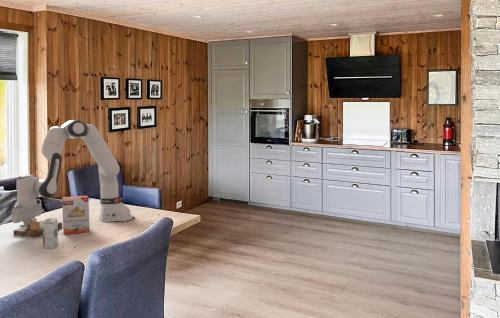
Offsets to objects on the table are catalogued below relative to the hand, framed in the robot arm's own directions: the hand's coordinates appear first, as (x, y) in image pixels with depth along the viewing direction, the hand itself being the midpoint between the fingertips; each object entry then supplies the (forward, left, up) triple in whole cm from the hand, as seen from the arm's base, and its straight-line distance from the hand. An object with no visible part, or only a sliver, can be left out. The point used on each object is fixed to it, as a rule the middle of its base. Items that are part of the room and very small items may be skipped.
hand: (27, 226), depth 252 cm
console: (-3, -5, -4) cm, 7 cm away
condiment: (+11, -13, -4) cm, 18 cm away
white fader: (0, -4, -1) cm, 4 cm away
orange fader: (-7, +2, -1) cm, 7 cm away
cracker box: (-26, -9, -4) cm, 28 cm away
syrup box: (-30, +18, -4) cm, 35 cm away
